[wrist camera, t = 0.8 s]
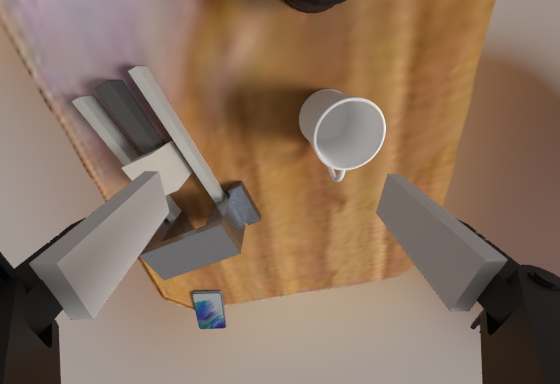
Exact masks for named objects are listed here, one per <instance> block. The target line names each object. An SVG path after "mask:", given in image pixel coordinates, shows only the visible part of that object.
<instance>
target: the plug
mask: <svg viewBox="0 0 560 384" xmlns="http://www.w3.org/2000/svg"><path fill="white" fill-rule="evenodd" d="M94 89H95V91H96V92H97V93H98V95H99V96H100V97H101V99H102V100H103V101H104V103H105V104H106V105H107V107H108V108H109V109H110V111H111V112H112V113H113V115H114V116H115V117H116V119H117V120H118V121H119V123H120V124H121V125H122V127H123V128H124V129H125V131H126V132H127V133H128V135H129V136H130V137H131V139H132V140H133V141H134V143H135V144H136V145H137V147H138V148H139V149H140V150H141V152H142V153H143V155H141V156H140V157H138V158H136V159H135V160H133V161H132V162H130V163H128V164H127V165H125V166H123V167H122V170H123V171H124V172H125V173H126V174H127V176H128V177H129V178H130V179H131V180H132V181H133V180H134V179H135V178H137V177H138V176H139V175H140V174H142V173H143V172H144V171H159V174H160V178H161V182H162V186H163V189H164V193H165V195H168V194H170V193H173V192H175V191H177V190H179V188H180V187H181V186H182V185H183V183H184V182H185V181H186V180H187V179H188V177H189V176H190V175H191V174H192V172H193V171H192V169H191V168H190V166H189V165H188V163H187V162H186V160H185V159H184V157H183V156H182V154H181V153H180V151H179V150H178V148H177V147H176V145H175V144H174V142H173V141H170V142H168V143H166V144H165V142H164V141H163V139H162V138H161V136H160V135H159V133H158V132H157V130H156V129H155V127H154V126H153V125H152V123H151V122H150V120H149V119H148V117H147V116H146V114H145V113H144V111H143V110H142V109H141V107H140V106H139V104H138V103H137V101H136V100H135V98H134V97H133V95H132V94H131V92H130V91H129V90H128V88H127V87H126V85H125V84H124V82H123V81H122V80H108V81H106V82H104V83H103V84H101V85H99V86H97V87H95V88H94Z"/></svg>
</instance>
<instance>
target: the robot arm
mask: <svg viewBox="0 0 560 384" xmlns="http://www.w3.org/2000/svg"><path fill="white" fill-rule="evenodd" d="M376 213H377V215H378V216H379V217H380V219H381V220H382V221H383V223H384V224H385V225H386V227H387V228H388V229H389V231H390V232H391V233H392V235H393V236H394V237H395V239H396V240H397V241H398V243H399V244H400V246H401V247H402V248H403V250H404V251H405V252H406V254H407V255H408V256H409V258H410V259H411V260H412V262H413V263H414V264H415V266H416V267H417V268H418V270H419V271H420V272H421V274H422V275H423V276H424V278H425V279H426V280H427V282H428V283H429V284H430V286H431V287H432V288H433V290H434V291H435V292H436V294H437V295H438V296H439V298H440V299H441V300H442V302H443V303H444V304H445V306H446V307H447V308H448V310H449V311H469V310H470V309H471V308H472V307H473V305H474V304H475V303H476V301H478V302H479V304H481V306H482V307H483V308H484V309H483V311H482V312H481V313H480V314H479V316H478V317H477V318H476V319H475V321H474V322H473V323H472V325H471V328H472V329H475V328H476V327H477V326H478V325H480V333H481V356H482V378H483V379H482V381H483V384H560V277H558V276H556V275H555V274H553V273H551V272H549V271H546V270H544V269H542V268H539V267H535V266H532V265H519V264H518V263H517V262H515V261H514V260H513V259H512V258H510V257H509V256H508V255H507V254H505V253H504V252H503V251H501V250H500V249H499V248H497V247H496V246H495V245H494V244H492V243H491V242H490V241H488V240H486V238H485V237H483V236H482V235H481V234H478V232H477V231H476V230H474V229H473V228H472V227H470V226H469V225H468V224H466V223H464V222H462V221H460V220H458V219H456V218H455V217H453V216H452V215H451V214H450V213H448V212H447V211H446V210H445V209H443V208H442V207H441V206H440V205H438V204H437V203H436V202H435V201H433V200H432V199H431V198H429V197H428V196H427V195H426V194H424V193H423V192H422V191H421V190H419V189H418V188H417V187H416V186H414V185H413V184H412V183H411V182H409V181H408V180H407V179H406V178H404V177H403V176H402V175H400V174H387V178H386V181H385V184H384V188H383V191H382V194H381V198H380V201H379V205H378V208H377V211H376ZM168 214H169V209H168V205H167V201H166V197H165V193H164V189H163V186H162V182H161V178H160V174H159V171H144V172H143V173H142V174H140V175H139V176H138V177H137V178H135V179H134V180H133V181H132V182H130V183H129V184H128V185H127V186H125V187H124V188H123V189H122V190H120V191H119V192H118V193H117V194H115V195H114V196H113V197H112V198H110V199H109V200H108V201H107V202H105V203H104V204H103V205H102V206H100V207H99V208H98V209H97V210H96V211H94V212H93V213H92V214H90V215H89V216H88V217H87V218H84V219H82V220H80V221H78V222H76V223H74V224H72V225H70V226H69V227H68V228H66V229H65V230H64V231H62V232H61V233H60V235H59V236H56V237H55V238H53V239H52V240H51V241H50V243H47V244H46V245H44V246H43V247H42V248H40V249H39V250H38V251H37V252H35V253H34V254H33V255H31V256H30V257H29V258H28V259H26V260H25V261H24V262H22V263H21V264H20V265H18V266H17V267H16V268H15V269H14V268H13V267H12V266H11V265H10V264H9V262H8V261H7V260H6V258H5V257H4V256H3V255H2V253H1V252H0V384H61V376H60V352H59V326H58V324H57V322H56V320H55V318H56V317H57V315H58V314H59V313H60V312H61V311H62V310H64V311H65V313H66V314H67V315H68V317H69V318H70V320H79V319H94V317H95V316H96V315H97V313H98V312H99V310H100V309H101V308H102V306H103V305H104V304H105V302H106V301H107V299H108V298H109V296H110V295H111V294H112V292H113V291H114V289H115V288H116V287H117V285H118V284H119V282H120V281H121V280H122V278H123V277H124V275H125V274H126V273H127V271H128V270H129V268H130V267H131V266H132V264H133V263H134V261H135V260H136V259H137V257H138V256H139V254H140V253H141V252H142V250H143V249H144V247H145V246H146V244H147V243H148V242H149V240H150V239H151V237H152V236H153V235H154V233H155V232H156V230H157V229H158V228H159V226H160V225H161V223H162V222H163V221H164V219H165V218H166V216H167V215H168Z"/></svg>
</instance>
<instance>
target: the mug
mask: <svg viewBox="0 0 560 384" xmlns="http://www.w3.org/2000/svg"><path fill="white" fill-rule="evenodd" d="M299 126H300V129H301V132H302V134H303V135H304V136H305V138H306V139H307V140H308V141H309V142H310V144H311V146H312V147H313V149H314V151H315V153H316V154H317V156H318V157H319V159H320V160H321V161H322V162H323V163H324V164H325V165H327V166H328V170H329V174H330V176H331V178H332V180H333V181H335V182H339V181H341V180H342V179H343V177H344V174H345V171H346V170H351V169H355V168H358V167H360V166H362V165H364V164H366V163H367V162H369V161H370V160H371V159H372V158H373V157H374V156H375V155H376V154H377V152H378V151H379V149H380V148H381V146H382V144H383V141H384V138H385V133H386V124H385V119H384V116H383V114H382V112H381V110H380V109H379V108H378V107H377V106H376V105H375V104H374V103H373V102H371V101H369V100H367V99H364V98H360V97H356V96H351V95H347V94H343V93H342V92H340V91H338V90H334V89H323V90H320V91H317V92H315V93H313V94H312V95H311V96H310V97H309V98H308V99H307V100H306V101H305V102H304V104H303V106H302V108H301V110H300V114H299ZM334 169H336V170H339V171H338V175H337V177H336V175H335V172H334Z"/></svg>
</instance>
